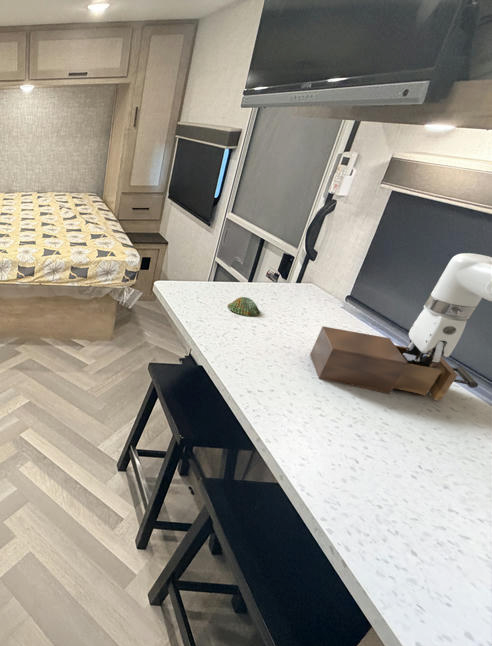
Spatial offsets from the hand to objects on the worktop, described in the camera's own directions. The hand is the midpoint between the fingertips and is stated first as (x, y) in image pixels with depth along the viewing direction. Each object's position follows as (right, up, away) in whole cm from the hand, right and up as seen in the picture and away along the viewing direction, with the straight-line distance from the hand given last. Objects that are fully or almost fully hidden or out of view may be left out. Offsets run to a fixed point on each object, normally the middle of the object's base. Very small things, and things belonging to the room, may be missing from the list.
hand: (410, 369), depth 101 cm
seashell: (-17, +15, +40) cm, 46 cm away
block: (0, 0, 0) cm, 0 cm away
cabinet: (-10, -2, +7) cm, 12 cm away
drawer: (+1, -4, +1) cm, 4 cm away
